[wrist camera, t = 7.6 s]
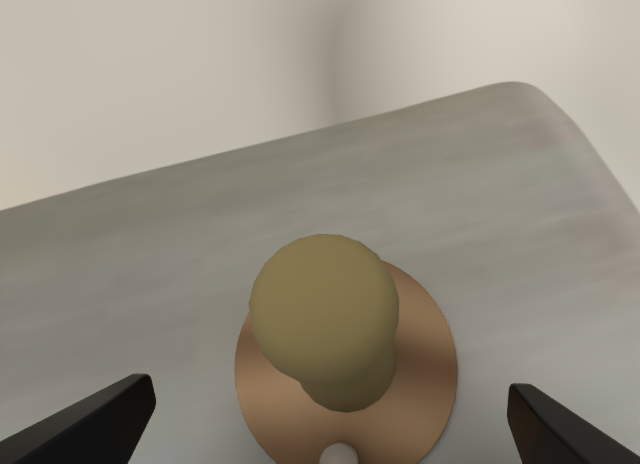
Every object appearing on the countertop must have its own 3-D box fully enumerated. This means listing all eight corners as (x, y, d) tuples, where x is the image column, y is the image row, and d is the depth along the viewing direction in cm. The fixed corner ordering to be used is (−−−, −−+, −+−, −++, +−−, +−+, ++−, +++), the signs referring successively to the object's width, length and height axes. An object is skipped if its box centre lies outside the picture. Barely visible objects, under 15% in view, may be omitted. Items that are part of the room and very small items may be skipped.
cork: (273, 369, 20) (183, 317, 11) (330, 287, 22) (297, 182, 13) (361, 438, 18) (346, 450, 8) (415, 339, 20) (453, 257, 10)
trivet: (476, 491, 17) (502, 507, 13) (225, 482, 18) (191, 494, 15) (434, 255, 23) (445, 225, 20) (252, 263, 25) (233, 237, 21)
